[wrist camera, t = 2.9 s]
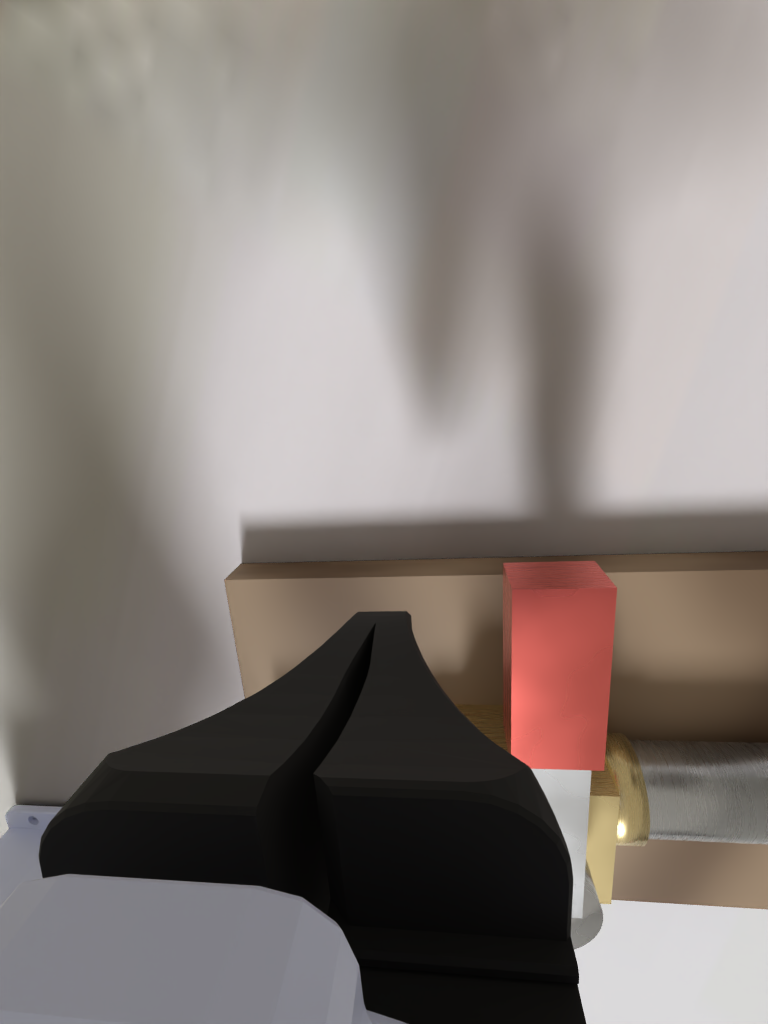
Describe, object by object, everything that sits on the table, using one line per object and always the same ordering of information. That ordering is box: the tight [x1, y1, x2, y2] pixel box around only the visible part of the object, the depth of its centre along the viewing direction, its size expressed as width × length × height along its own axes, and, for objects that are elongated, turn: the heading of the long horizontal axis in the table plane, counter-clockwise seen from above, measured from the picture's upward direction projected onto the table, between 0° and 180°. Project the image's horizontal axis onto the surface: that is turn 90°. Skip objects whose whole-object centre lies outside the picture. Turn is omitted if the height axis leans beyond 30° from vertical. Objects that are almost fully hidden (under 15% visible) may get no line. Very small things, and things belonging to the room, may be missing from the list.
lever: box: [503, 561, 617, 949], centre depth 12 cm, size 10×3×2 cm, turn 4°
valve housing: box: [455, 704, 768, 904], centre depth 16 cm, size 18×4×4 cm, turn 94°
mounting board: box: [224, 551, 768, 909], centre depth 18 cm, size 20×14×2 cm
